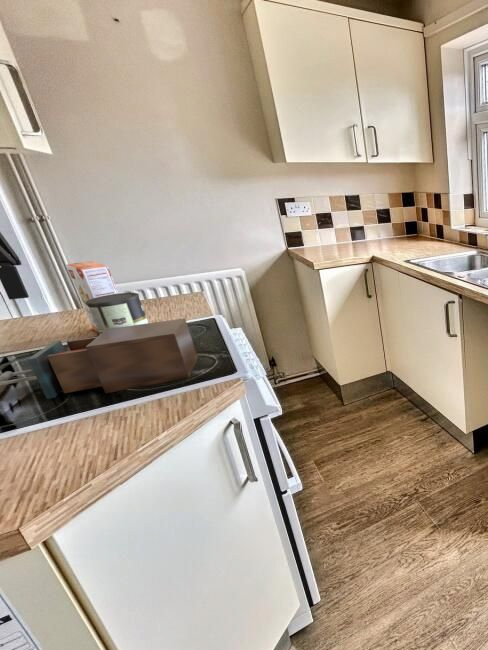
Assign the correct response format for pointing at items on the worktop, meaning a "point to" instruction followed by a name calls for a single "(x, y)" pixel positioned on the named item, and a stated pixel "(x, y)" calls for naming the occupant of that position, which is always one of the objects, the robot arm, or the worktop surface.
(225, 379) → the worktop surface
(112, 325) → the coffee can
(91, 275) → the cracker box
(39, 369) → the drawer
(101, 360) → the cabinet
